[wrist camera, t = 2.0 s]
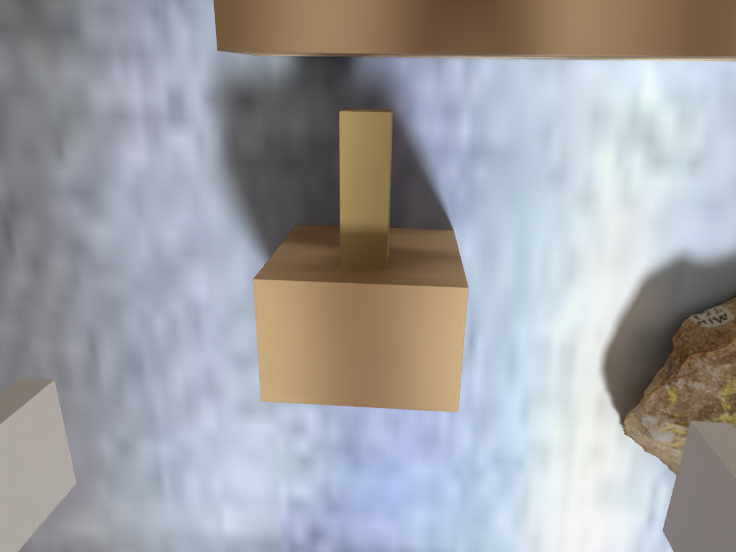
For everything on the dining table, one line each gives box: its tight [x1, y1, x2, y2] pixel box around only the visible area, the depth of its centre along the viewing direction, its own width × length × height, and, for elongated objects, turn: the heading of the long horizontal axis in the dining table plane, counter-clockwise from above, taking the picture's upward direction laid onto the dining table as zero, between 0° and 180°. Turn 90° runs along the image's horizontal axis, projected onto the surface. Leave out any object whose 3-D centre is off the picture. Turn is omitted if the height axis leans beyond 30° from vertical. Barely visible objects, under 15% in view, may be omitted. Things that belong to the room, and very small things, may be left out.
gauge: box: [253, 108, 468, 412], centre depth 18 cm, size 6×8×6 cm
